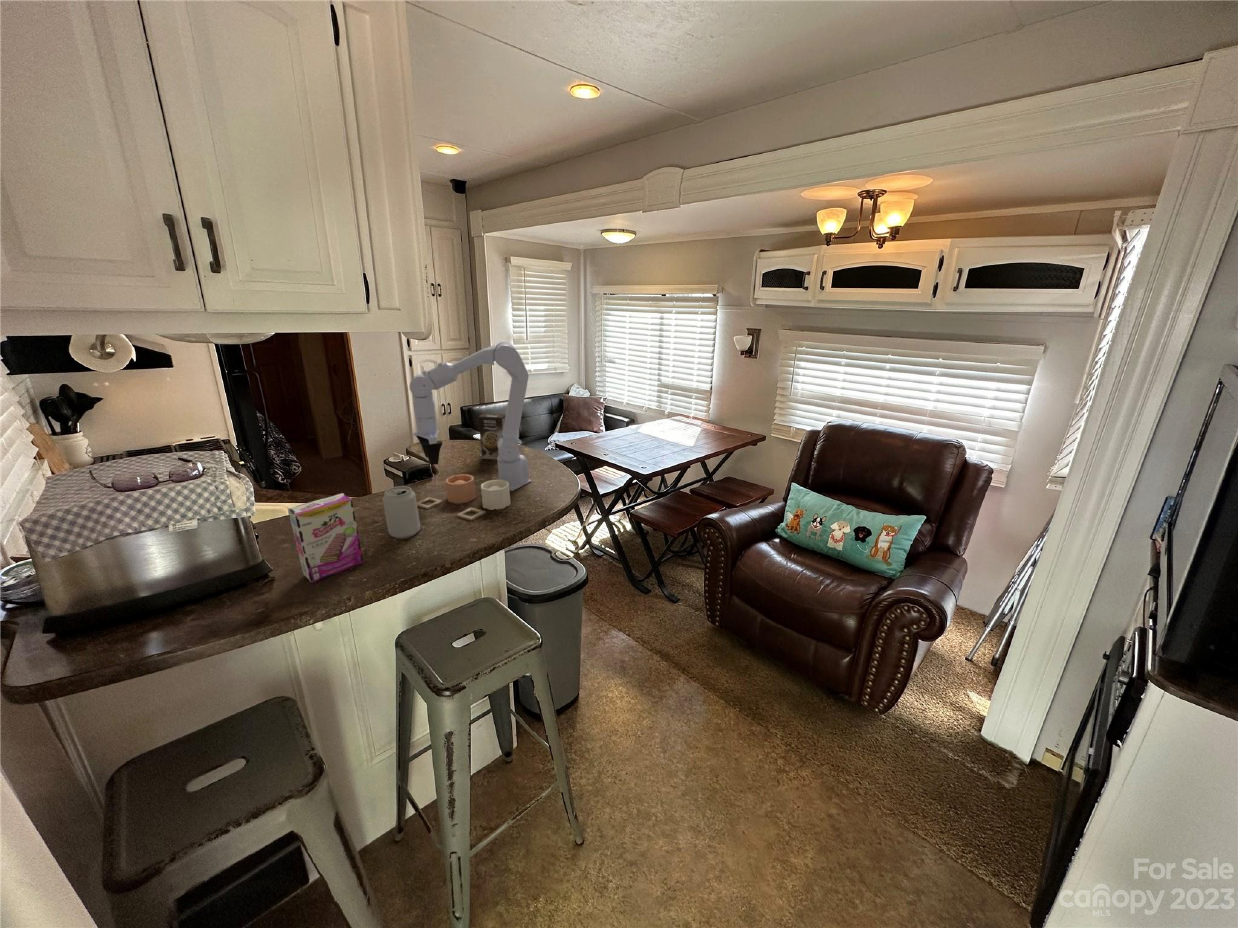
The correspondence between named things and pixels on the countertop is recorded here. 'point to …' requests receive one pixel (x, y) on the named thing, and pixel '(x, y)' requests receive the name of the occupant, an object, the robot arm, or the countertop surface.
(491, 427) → the coffee box
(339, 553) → the candy bar box
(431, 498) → the stand
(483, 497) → the white cup
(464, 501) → the terracotta round cup
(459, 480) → the terracotta ball
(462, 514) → the stand
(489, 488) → the cream ball
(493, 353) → the robot arm
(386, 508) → the can
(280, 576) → the countertop surface
